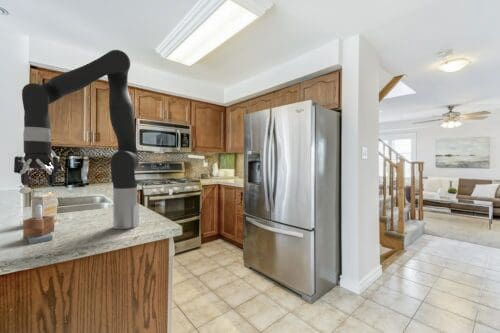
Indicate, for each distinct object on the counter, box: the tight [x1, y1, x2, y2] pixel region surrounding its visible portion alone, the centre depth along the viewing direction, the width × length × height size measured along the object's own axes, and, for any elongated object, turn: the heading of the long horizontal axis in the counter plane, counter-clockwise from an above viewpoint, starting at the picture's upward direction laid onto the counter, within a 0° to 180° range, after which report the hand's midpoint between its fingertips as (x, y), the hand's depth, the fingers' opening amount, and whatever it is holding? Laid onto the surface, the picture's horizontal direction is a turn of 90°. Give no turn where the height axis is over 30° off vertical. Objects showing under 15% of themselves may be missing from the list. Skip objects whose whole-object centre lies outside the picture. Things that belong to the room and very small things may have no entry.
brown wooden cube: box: [22, 216, 55, 238], centre depth 85 cm, size 6×6×6 cm
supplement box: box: [31, 192, 58, 222], centre depth 104 cm, size 8×5×13 cm, turn 5°
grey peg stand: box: [26, 205, 53, 245], centre depth 84 cm, size 12×6×12 cm, turn 47°
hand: (38, 184), depth 84 cm, fingers open, 8 cm apart
